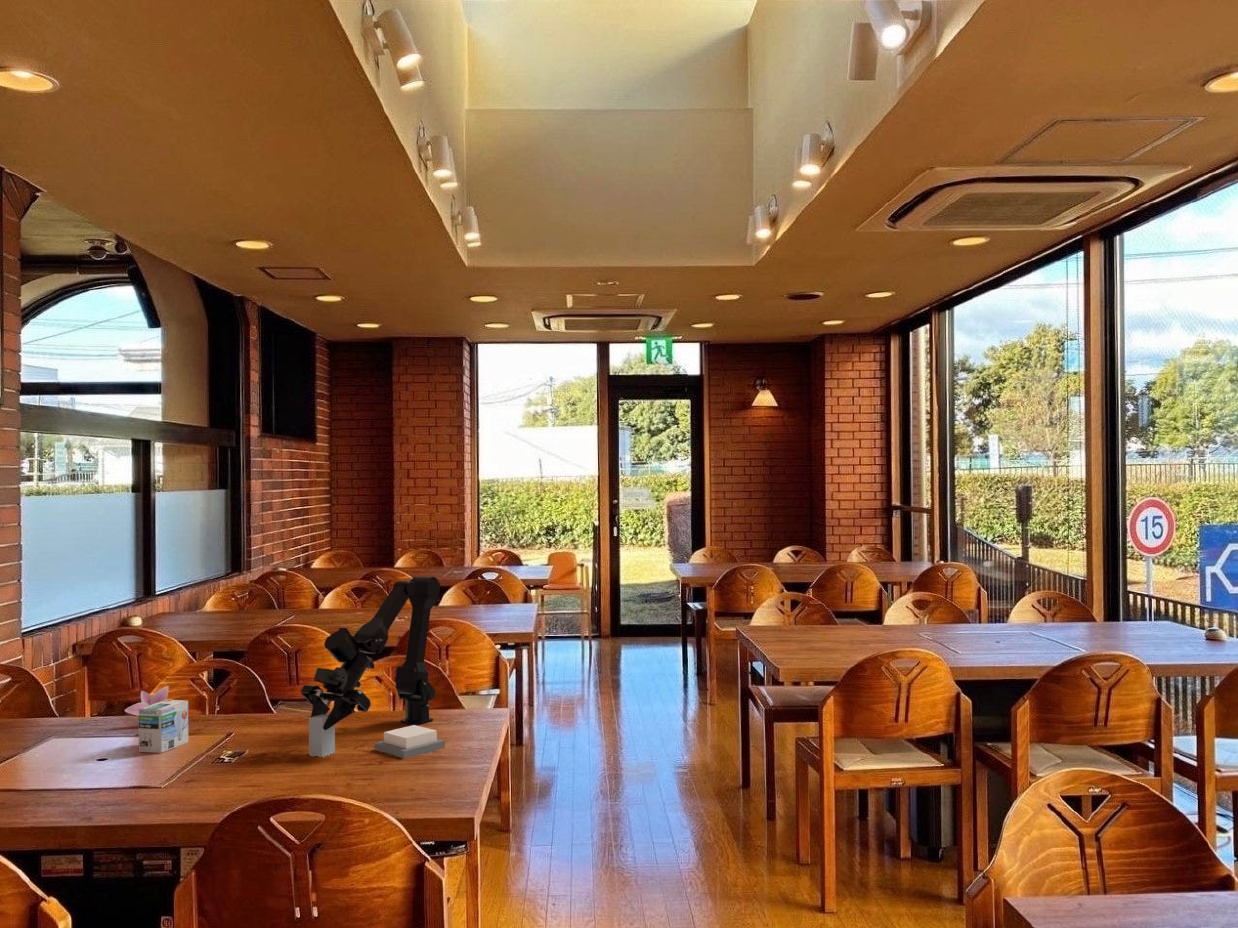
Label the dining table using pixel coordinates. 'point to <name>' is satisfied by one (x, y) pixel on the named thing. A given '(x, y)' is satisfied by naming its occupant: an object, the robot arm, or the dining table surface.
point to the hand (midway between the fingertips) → (317, 728)
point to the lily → (148, 700)
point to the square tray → (409, 751)
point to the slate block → (321, 737)
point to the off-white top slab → (410, 736)
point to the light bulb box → (163, 726)
